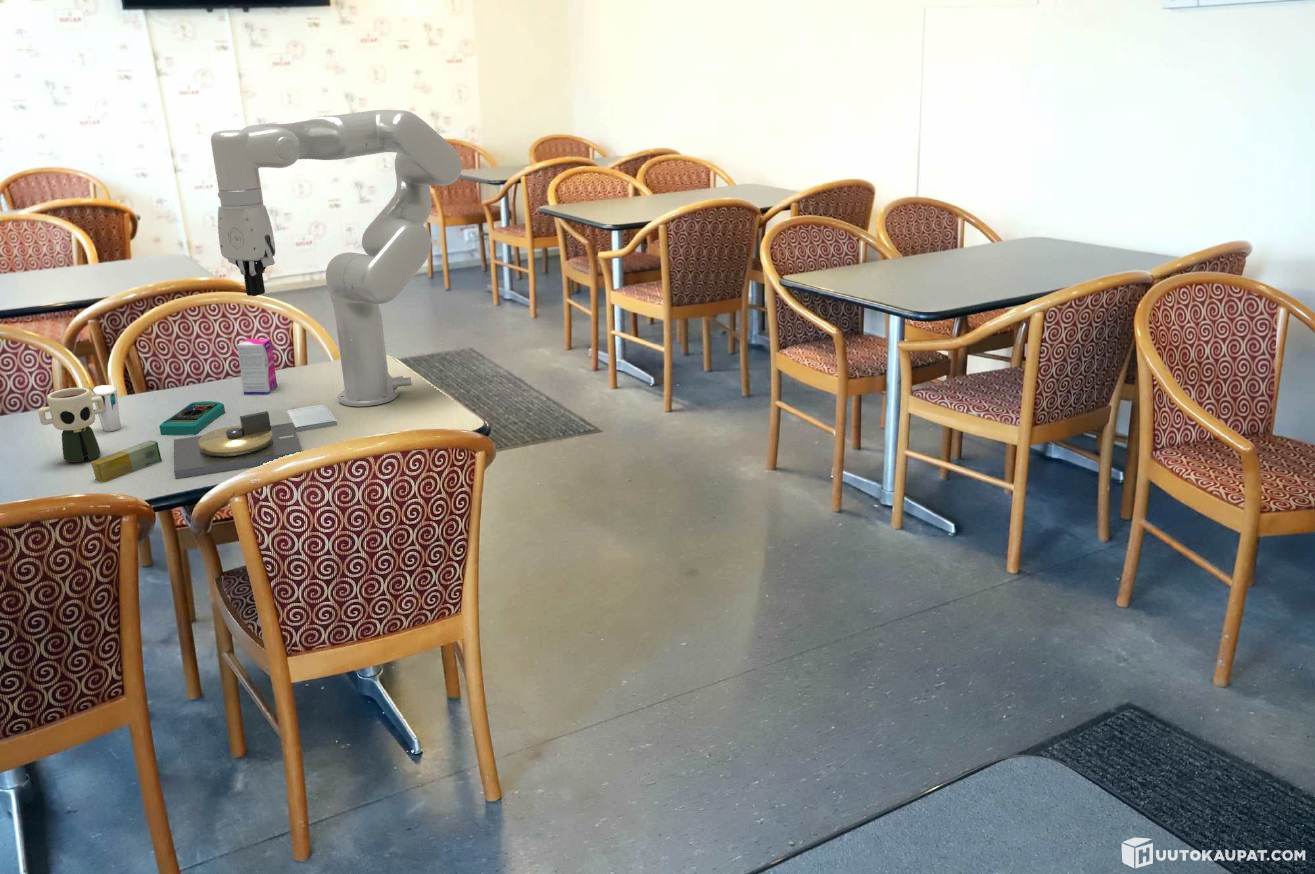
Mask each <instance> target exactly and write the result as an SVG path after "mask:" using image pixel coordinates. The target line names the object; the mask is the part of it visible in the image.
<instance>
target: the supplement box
mask: <svg viewBox="0 0 1315 874" xmlns="http://www.w3.org/2000/svg"><path fill="white" fill-rule="evenodd" d="M272 343H273V342H272V339H271V338H246V339H244V340H242V341H241V342H239V343H238V344H237V345H236V347H237V352H238V353H237V354H238V360H239V362H238V363H239V368H240V376H241V383H242V392H243V395H269V394H270V393H271V392H272V391H273V390H275V389H276V388H277V387H278V384H277V378H276V377H277V376H276V368H275V360H274V352H273V345H272Z"/></svg>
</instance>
